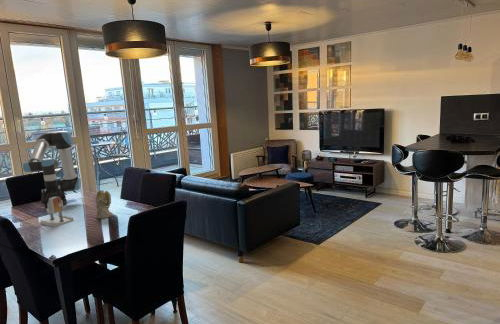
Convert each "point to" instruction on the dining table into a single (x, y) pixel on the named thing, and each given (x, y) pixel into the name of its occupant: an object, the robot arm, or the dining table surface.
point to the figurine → (103, 204)
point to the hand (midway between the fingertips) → (55, 210)
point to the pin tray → (57, 220)
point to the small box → (55, 204)
